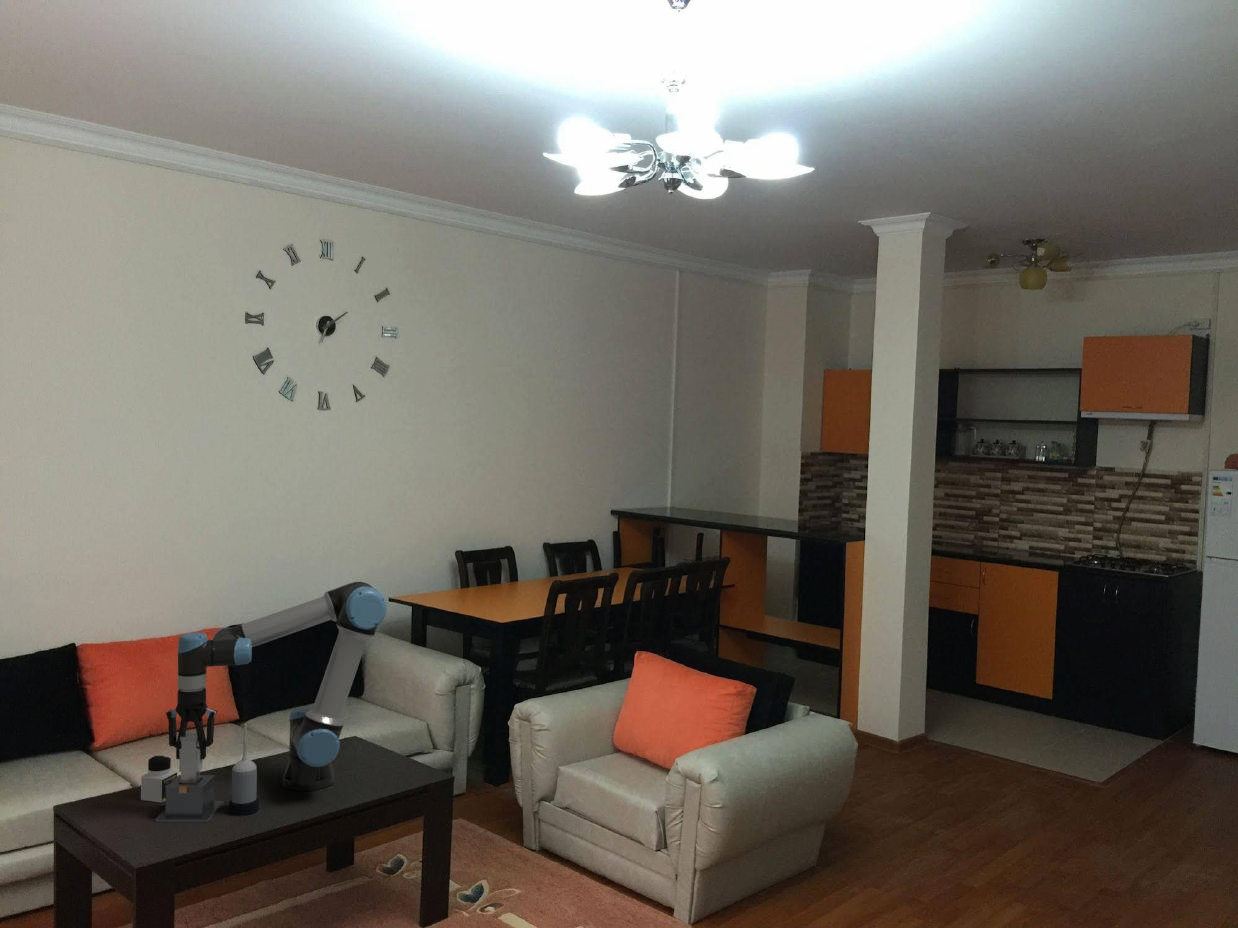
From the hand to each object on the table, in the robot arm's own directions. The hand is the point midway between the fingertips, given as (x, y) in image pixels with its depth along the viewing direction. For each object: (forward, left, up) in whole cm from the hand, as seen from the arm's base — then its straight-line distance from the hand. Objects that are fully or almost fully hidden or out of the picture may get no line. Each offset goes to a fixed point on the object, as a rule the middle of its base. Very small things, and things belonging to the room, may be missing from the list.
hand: (190, 770), depth 291 cm
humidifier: (-14, -2, -12) cm, 19 cm away
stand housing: (0, 0, -12) cm, 12 cm away
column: (0, 0, -11) cm, 11 cm away
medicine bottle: (+13, -12, -12) cm, 21 cm away
